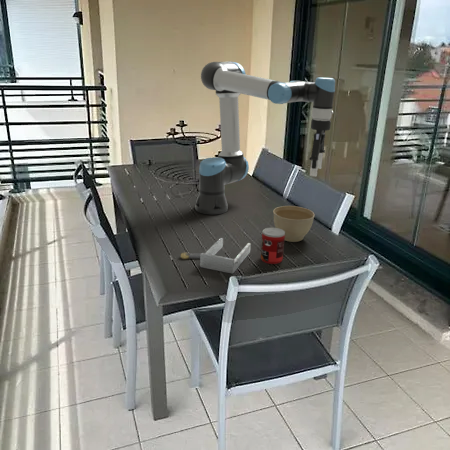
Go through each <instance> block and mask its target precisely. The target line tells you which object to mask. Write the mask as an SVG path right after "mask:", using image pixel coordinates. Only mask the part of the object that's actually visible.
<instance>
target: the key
mask: <svg viewBox="0 0 450 450" xmlns="http://www.w3.org/2000/svg"><path fill="white" fill-rule="evenodd" d="M201 253H202V252H201ZM201 253H199V252H196V253H192V252H191V253H189V252H181V253H180V259H181V260H189V259H191V260H192V259H194V260H195V259H199V260H200V254H201Z"/></svg>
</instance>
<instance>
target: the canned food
mask: <svg viewBox="0 0 450 450" xmlns="http://www.w3.org/2000/svg"><path fill="white" fill-rule="evenodd" d="M260 245H261V247H260V260H261V261H262V262H263V263H265V264H270V265H277V264H281V262H283V260H284V250H285V232H284V231H283V230H282V229H279V228H276V227H266V228H264V229H263V230H262V233H261V244H260Z"/></svg>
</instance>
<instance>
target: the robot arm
mask: <svg viewBox="0 0 450 450" xmlns="http://www.w3.org/2000/svg"><path fill="white" fill-rule="evenodd" d="M200 80H201V82H202V84H203V86H204V87H205V88H206V89H208V90H210V91H215V95H216V96H217V97H218V98H219V99H218V101H219V118H220V121H219V123H220V136H221V137H220V138H221V140H220V141H221V151H220V153H218V157H217V156H216V157H215V156H214V157H208V158H204V159H202V160H201V161H200V163H199V169H198V174H199V175H198V179H199V180H198V181H199V182H198V189H199V190H198V195H197V198H196V202H195V205H194V206H195V211H196V212H197V213H200V214H204V215H209V216H210V215H221V214H225V213H226V212H228V210H229V208H228V207H229V204H228V202H227V197H226V195H225V189H226V188H225V187H226V186H225V185H228V184H229V185H230V184H232V183H237V182H239V181H241V180H243V179H245V178H246V176H247V175H248V172H249V162H248V160H247V158H246V157H245V156H244V152H243V151H242V150H241V144H240V143H241V138H240V114H239V112H240V111H239V96H240V95H241V94H242V95H246V96H251V97H255V98H260V99H264V100H267V101H268V100H269V101H270V102H271V103H273V104H274V105H275V104H277V105H283V104H289V103H296V102H307V103H312V108H311V109H312V110H311V111H312V112H311V118H312V119H311V120H310V121H311V122H310V129H311V130H314V131H316V132H315V133H314V134H313V141H312V142H313V143H312V150H311V157H309V160H310V169H309V177H317V176H318V170H319V169H320V170H321V169H322V164H323V155H324V153H325V152H326V150H325V141H326V140H325V138H326V133H325V132H326V131H329V130H331V124H332V121H331V119H332V116H333V114H334V111H333V107H334V106H333V104H334V98H335V92H336V79H335V78H333V77H325V76H324V77H322V76H319V77H316V78H315V81H313V82H311V81H305V80H304V81H302V80H290V81H289V82H287V81H286V82H285V81H281V80H273V79H269V78H265V77H262V76H261V77H259V76H256V75H249V74H246V71H245V68H244V67H243V66H242V64H240V63H238V62H235V61H211V62H209V63H207V64H205V65H204V66H203V68H202V70H201V72H200Z"/></svg>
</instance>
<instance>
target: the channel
mask: <svg viewBox="0 0 450 450" xmlns="http://www.w3.org/2000/svg"><path fill="white" fill-rule="evenodd" d="M251 245H252V244H251V243H250V242H248V243H246V245H245V246H244V247H242V249H241V251H240V252H239V253H238V255H237V256H236V257H235V258H230V257H226V256H221V255H217V253H218V252H219V251H220V250H221V249H222V248H223V246H224V237H220V238H219V239H218V240H217V241H216V242H214V243H213V244H212V245H211V246H210V248H209V249H207V251H206V252H201V254H200V259H199V262H200V263H199V267H200V268H204V269H208V270H213V271H217V272H218V271H219V272H223V273H229V274H234V273H235V272H236V271H237V270H238V268H239V267H240V265H241V264H242V263H244V261H245V259H246V258H247V256H248V255H249V254H250V253H251V247H252V246H251Z"/></svg>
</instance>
